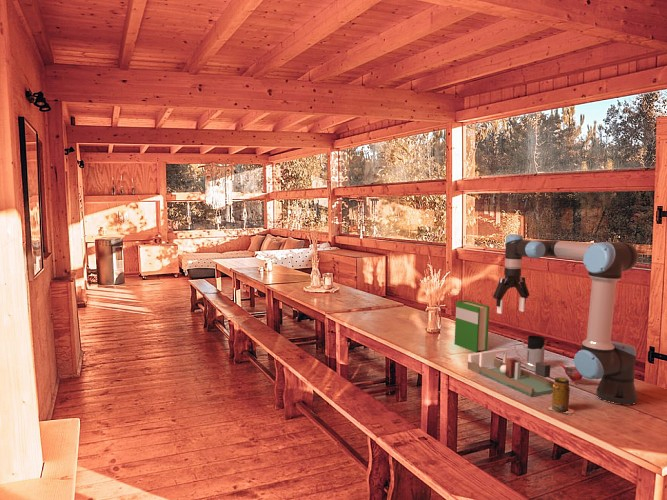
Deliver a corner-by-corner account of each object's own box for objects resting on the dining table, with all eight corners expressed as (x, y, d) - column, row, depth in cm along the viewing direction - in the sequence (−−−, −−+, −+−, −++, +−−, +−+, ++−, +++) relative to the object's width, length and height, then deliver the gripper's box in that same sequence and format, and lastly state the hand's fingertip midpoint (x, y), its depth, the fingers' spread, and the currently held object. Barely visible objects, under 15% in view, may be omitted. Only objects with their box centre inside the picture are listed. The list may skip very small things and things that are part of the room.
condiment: (554, 404, 219) (556, 375, 218) (576, 410, 213) (578, 380, 212) (547, 409, 214) (549, 379, 213) (569, 415, 208) (571, 384, 207)
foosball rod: (551, 389, 231) (553, 364, 230) (540, 391, 228) (542, 366, 227) (515, 374, 249) (516, 351, 248) (505, 376, 246) (506, 353, 245)
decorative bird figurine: (581, 389, 237) (583, 366, 236) (555, 376, 254) (556, 354, 253) (587, 388, 238) (589, 366, 237) (560, 375, 255) (561, 354, 254)
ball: (510, 374, 250) (511, 365, 250) (503, 375, 249) (504, 366, 248) (504, 371, 254) (504, 363, 254) (497, 372, 252) (498, 364, 252)
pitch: (558, 391, 233) (559, 368, 232) (531, 396, 227) (532, 373, 226) (492, 364, 269) (493, 344, 268) (467, 368, 262) (468, 348, 261)
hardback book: (487, 351, 293) (489, 306, 291) (476, 352, 290) (478, 307, 288) (464, 342, 309) (466, 300, 307) (454, 344, 306) (456, 301, 303)
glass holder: (545, 371, 260) (547, 340, 259) (514, 369, 263) (516, 338, 262) (542, 366, 269) (544, 336, 267) (512, 363, 272) (513, 333, 270)
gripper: (526, 265, 268) (524, 308, 270) (486, 267, 257) (484, 312, 259) (538, 267, 261) (536, 311, 263) (497, 269, 250) (495, 315, 252)
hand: (510, 312), depth 261 cm, fingers open, 13 cm apart
